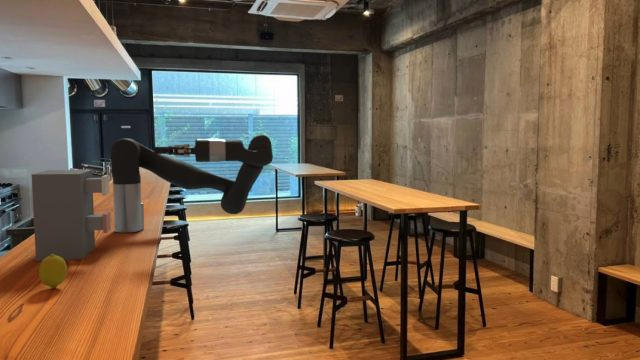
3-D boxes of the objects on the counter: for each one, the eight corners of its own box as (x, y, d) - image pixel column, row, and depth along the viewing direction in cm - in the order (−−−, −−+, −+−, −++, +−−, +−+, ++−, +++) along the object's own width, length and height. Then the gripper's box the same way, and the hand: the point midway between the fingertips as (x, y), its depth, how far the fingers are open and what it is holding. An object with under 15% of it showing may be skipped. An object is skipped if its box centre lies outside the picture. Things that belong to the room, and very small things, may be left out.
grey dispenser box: (95, 246, 143) (92, 169, 141) (83, 258, 130) (80, 173, 127) (52, 248, 141) (48, 170, 138) (36, 261, 127) (31, 174, 125)
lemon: (55, 293, 102) (53, 258, 102) (34, 291, 103) (32, 256, 103) (73, 285, 108) (71, 251, 107) (52, 283, 109) (51, 250, 108)
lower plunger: (110, 229, 140) (110, 211, 139) (107, 232, 135) (106, 214, 134) (78, 230, 138) (77, 212, 137) (73, 234, 133) (72, 215, 132)
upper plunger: (109, 193, 139) (108, 175, 138) (105, 195, 134) (105, 176, 133) (76, 193, 137) (75, 175, 136) (71, 196, 131) (70, 177, 131)
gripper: (211, 163, 143) (151, 163, 139) (210, 160, 156) (156, 160, 152) (210, 139, 142) (151, 138, 138) (210, 138, 155) (155, 137, 151)
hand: (154, 150), depth 145 cm, fingers closed
